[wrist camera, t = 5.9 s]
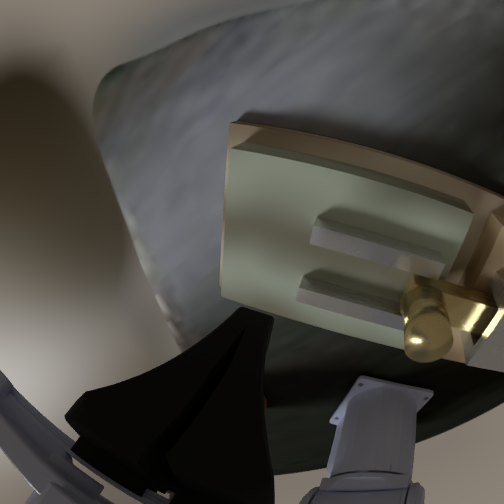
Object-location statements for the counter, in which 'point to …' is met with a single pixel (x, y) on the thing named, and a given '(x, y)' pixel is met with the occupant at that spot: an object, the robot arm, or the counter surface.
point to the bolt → (440, 315)
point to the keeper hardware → (388, 311)
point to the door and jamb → (349, 212)
